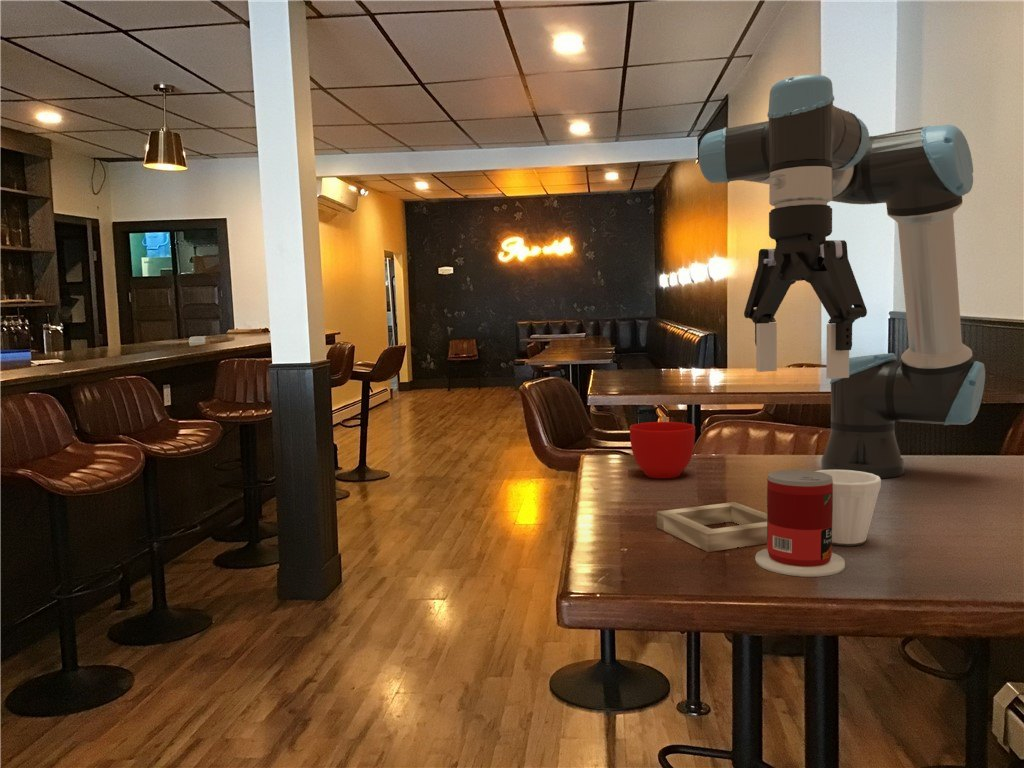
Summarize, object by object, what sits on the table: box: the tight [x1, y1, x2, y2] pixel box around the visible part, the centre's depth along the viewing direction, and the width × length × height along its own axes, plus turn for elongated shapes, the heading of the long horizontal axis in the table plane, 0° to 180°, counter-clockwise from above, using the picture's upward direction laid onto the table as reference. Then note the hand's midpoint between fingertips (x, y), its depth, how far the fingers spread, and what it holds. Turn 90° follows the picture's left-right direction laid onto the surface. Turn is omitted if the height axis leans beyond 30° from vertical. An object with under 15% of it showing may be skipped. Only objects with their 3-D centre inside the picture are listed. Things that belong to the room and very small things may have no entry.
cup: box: [815, 469, 882, 547], centre depth 114 cm, size 10×10×9 cm
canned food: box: [766, 469, 833, 567], centre depth 105 cm, size 8×8×11 cm
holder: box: [656, 501, 767, 553], centre depth 120 cm, size 14×14×2 cm
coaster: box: [754, 548, 846, 578], centre depth 105 cm, size 11×11×1 cm
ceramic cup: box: [629, 421, 696, 480], centre depth 164 cm, size 13×17×10 cm
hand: (799, 374), depth 103 cm, fingers open, 13 cm apart
